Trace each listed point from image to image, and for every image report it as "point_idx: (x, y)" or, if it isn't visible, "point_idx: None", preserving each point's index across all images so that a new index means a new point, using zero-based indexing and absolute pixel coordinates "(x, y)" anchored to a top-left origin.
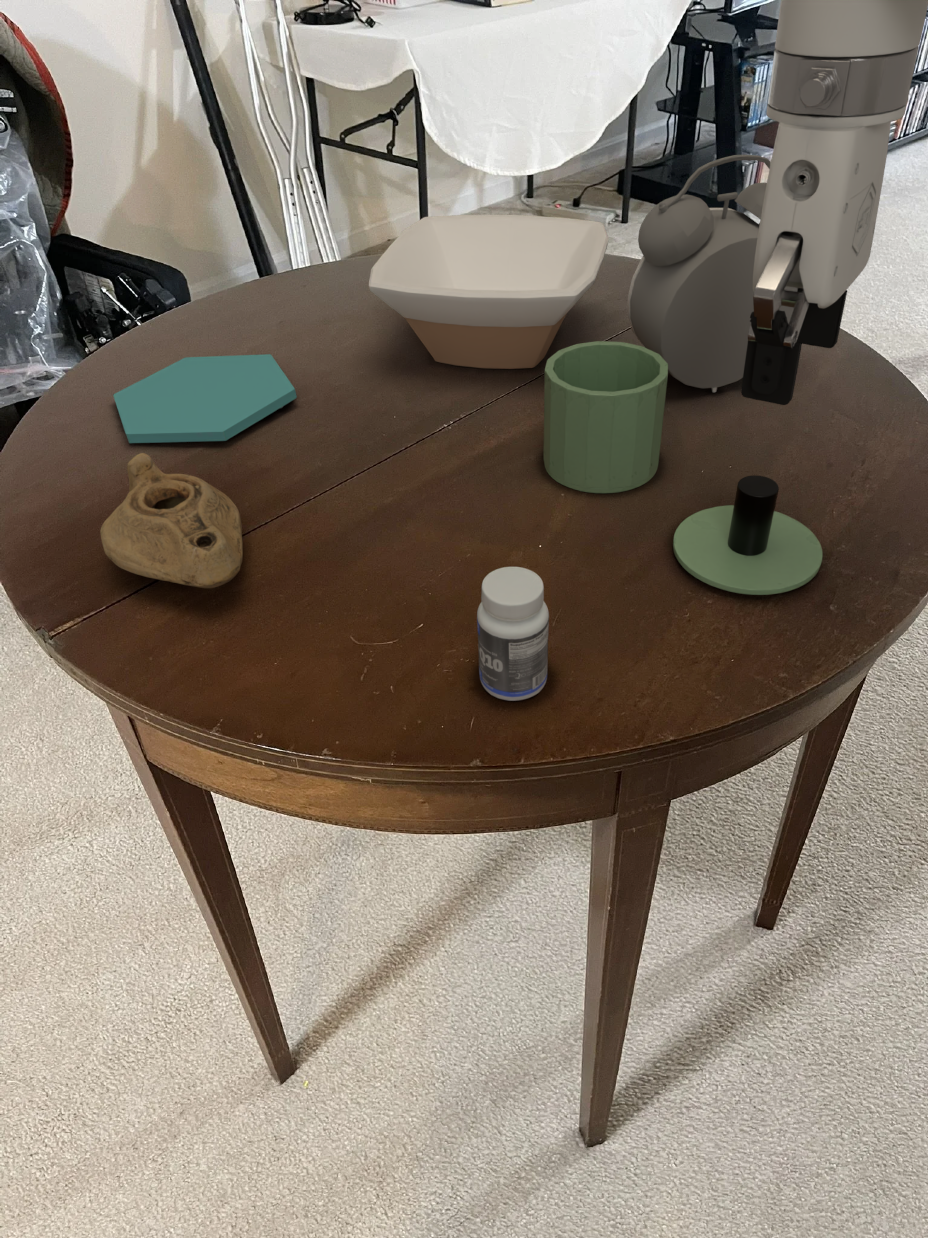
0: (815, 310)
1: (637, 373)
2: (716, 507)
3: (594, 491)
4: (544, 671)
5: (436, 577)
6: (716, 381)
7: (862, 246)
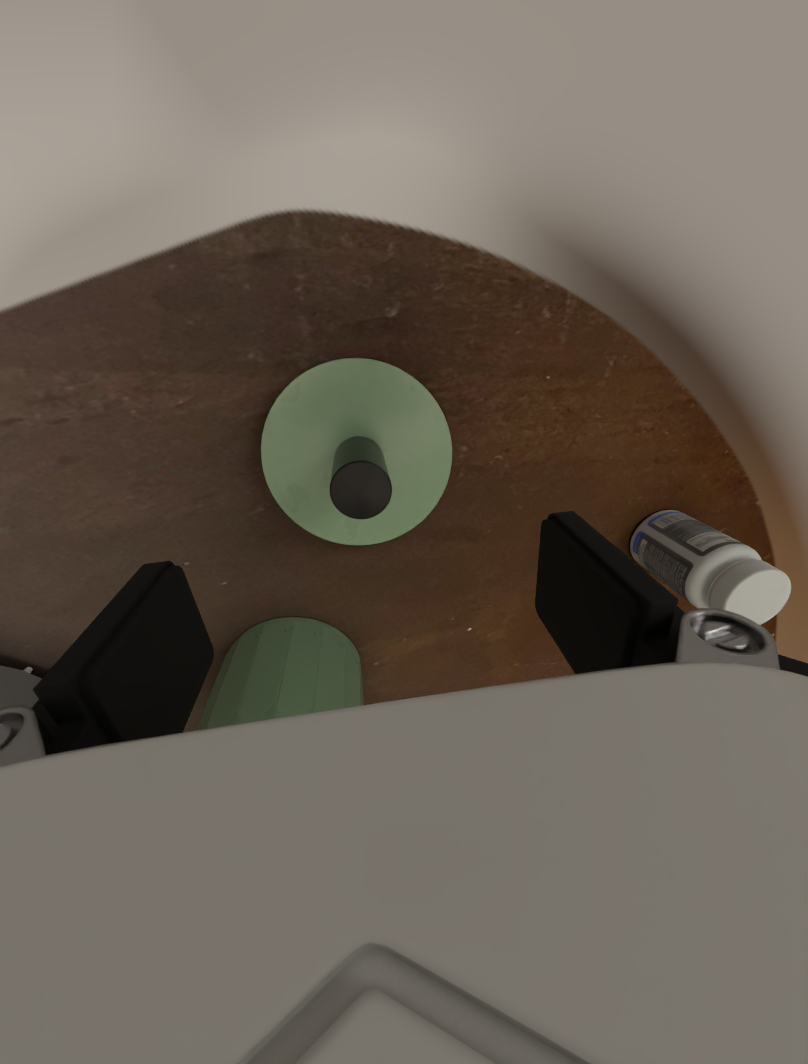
0: (160, 688)
1: None
2: (307, 529)
3: (353, 645)
4: (677, 518)
5: (558, 663)
6: (22, 679)
7: (184, 1057)
